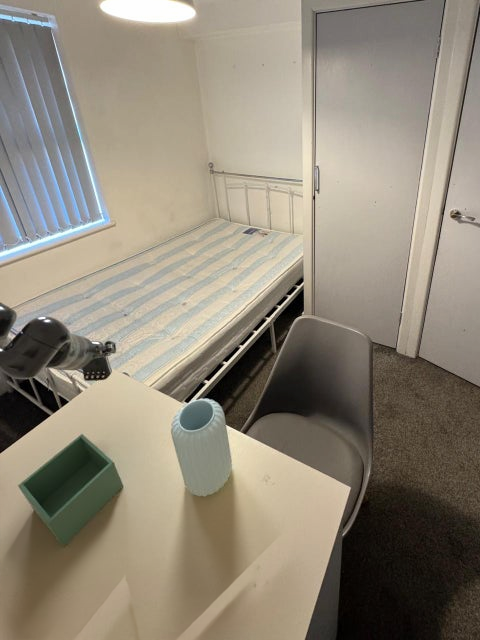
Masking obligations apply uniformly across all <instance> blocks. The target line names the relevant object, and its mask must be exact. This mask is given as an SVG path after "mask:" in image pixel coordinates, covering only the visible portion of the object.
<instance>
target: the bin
mask: <svg viewBox="0 0 480 640" xmlns="http://www.w3.org/2000/svg"><path fill="white" fill-rule="evenodd" d="M17 487H18V488H19V490H20V491H21V493H22V495H23V496H24V498H25V499H26V501H27V502H28V504H29V505H30V507H31V508H32V510H33V511H34V513H35V514H36V515H37V516H38V518H39V519H40V520H41V522H43V524H44V525H45V526H46V527H47V529H48V530H49V531H50V532H51V534H52V535H53V536H54V538H55V539H56V540H57V542H58V543H59V544H60V545H61V547H62V548H65V547H66V546H67V545H68V544H69V543H70V542H71V541H72V540H73V539H74V538H75V537H76V536H77V535H78V534H79V533H80V532H81V531H82V530H83V529H84V528H85V526H87V525H88V523H90V522H91V520H92V519H94V518H95V516H97V514H98V513H99V512H100V511H101V510H102V509H103V508H104V507H105V506H106V505H107V504H108V503H109V502H110V501H111V500H112V499H113V498H114V497H115V496H116V495H117V494H118V493H119V491H121V489H123V487H124V483H123V481H122V479H121V476H120V474H119V472H118V469H117V467H116V464H115V462H114V460H112V459H111V458H110V457H109V456H108V455H106V454H105V452H103V451H102V450H101V449H100V448H98V446H96V445H95V444H94V443H93V442H92V441H91V440H90V439H89V438H87V437H86V436H85V435H84V434H83V433H81V434H80V435H79V436H78V437H76V438H75V439H74V440H72V441H71V442H70V443H68V444H67V445H66V446H65V447H64V448H62V449H61V450H60V451H59V452H57V453H56V454H54V455H53V456H52V457H51V458H50V459H49V460H47V462H44V464H43V465H41V466H40V467H38V469H36V470H35V471H34V472H33V473H31V474H30V475H29V476H28V477H26V478H25V479H24V480H22V482H20V483H19V484H17Z"/></svg>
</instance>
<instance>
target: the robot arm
mask: <svg viewBox="0 0 480 640" xmlns="http://www.w3.org/2000/svg"><path fill="white" fill-rule="evenodd" d="M17 319H18V314H17V312H16V310H14V308H12V307H10V306H8V305H7V304H5V303H3V302H1V301H0V371H2V372H3V373H4V374H5V375H7V376H8V377H10V378H13V379H16V380H29V379H33V378H35V377H38V375H40V374H41V372H42V371H43V370H44V369H52V370H57V371H77V370H80V369H82V367H84V366H86V365H87V364H88V363H89V362H90V361H91V360H92V359H98V358H101V357H102V356H107V357H110V356H111V354H115V353H116V354H117V347H116V346H117V345H116V342H115V341H111V340H107V341H105V342H104V344H103V345H101V344H93V343H92V342H91V340H90V339H89V338H87V337H84V336H82V335H78V334H74V333H71V331H70V330H69V328H68V327H67V326H66V325H65V324H64V323H63V322H61V321H60V320H59V319H57V318H55V317H53V316H48V315H47V316H45V315H42V316H38V317H35V318H32V319H31V320H29V321H28V322H27V323H25V325H24V326H23V327H22V328H21V330H19V331H18V332H17V334H16V335H14V337H13V338H12V339H11V340H10V342H9V334H10V332H11V330H12V329H13V327H14V325H15V323H16V321H17ZM102 350H103V351H104V353H102ZM95 355H96V356H95Z"/></svg>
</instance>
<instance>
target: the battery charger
mask: <svg viewBox="0 0 480 640" xmlns="http://www.w3.org/2000/svg"><path fill="white" fill-rule="evenodd" d="M90 341H91V340H90ZM91 342H92V343H93V344H101V345H104V344H103V343H102V342H101V341H98V340H94V341H93V340H92V341H91ZM102 353H104V351H103V350H102ZM95 356H96V355H95ZM81 370H82V373H83V374H82V375H83V380H84V381H86V382H93V381H96V382H97V381H104V380H108V378H109V377H110V376H111V375H112V373H113V369H112V367H111V364H110V360H109V356H102V357H101V358H98V359H92V360H91V361H90V362H89V363H88V364H87V365H86V366H84V367H82V368H81Z"/></svg>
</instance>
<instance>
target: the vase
mask: <svg viewBox="0 0 480 640" xmlns="http://www.w3.org/2000/svg"><path fill="white" fill-rule="evenodd" d="M170 435H171V440H172V443H173V447H174V451H175V453H176V458H177V461H178V465H179V468H180V472H181V476H182V479H183V483H184V486H185V487H186V489H187V491H188V492H190V493H191V494H192V495H194V496H195V495H196V496H197V497H207V496H212V495H213V494H214V493H218V492H219V491H220V489H221V488H223V487H224V486H225V483H227V482H228V480H229V477H230V476H231V473H232V469H233V463H232V461H233V460H232V453H231V446H230V441H229V434H228V428H227V422H226V416H225V412H224V409H223V407H222V406H221V405H220V403H218V402H217V401H215V400H214V399H210V398H203V397H202V398H199V399H194V400H193V401H189V402H188V403H186V404H184V405H183V406H182V407H181V408H180V409H179V410H178V411H177V413H176V414H175V416H174V417H173V420H172V422H171V428H170Z"/></svg>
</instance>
